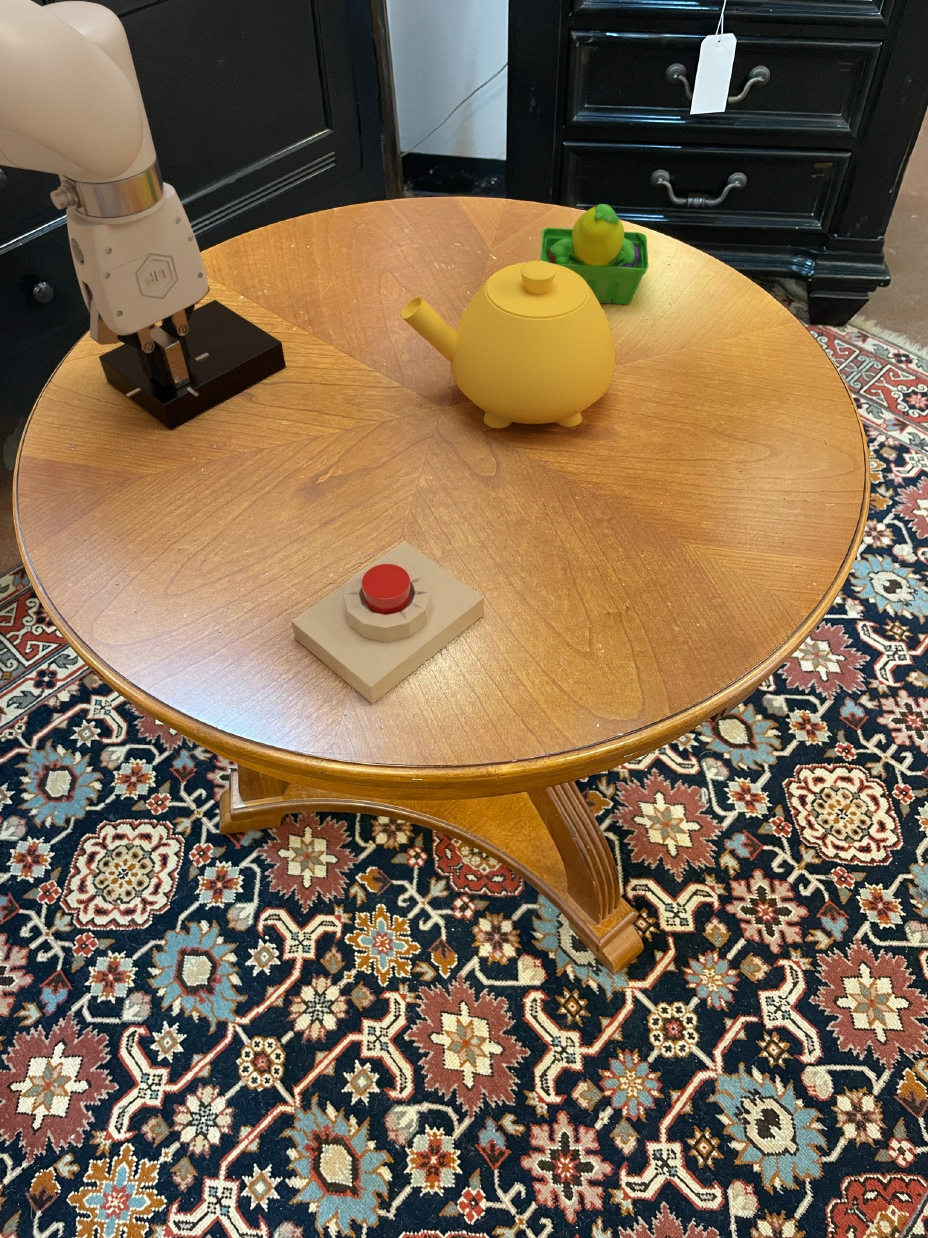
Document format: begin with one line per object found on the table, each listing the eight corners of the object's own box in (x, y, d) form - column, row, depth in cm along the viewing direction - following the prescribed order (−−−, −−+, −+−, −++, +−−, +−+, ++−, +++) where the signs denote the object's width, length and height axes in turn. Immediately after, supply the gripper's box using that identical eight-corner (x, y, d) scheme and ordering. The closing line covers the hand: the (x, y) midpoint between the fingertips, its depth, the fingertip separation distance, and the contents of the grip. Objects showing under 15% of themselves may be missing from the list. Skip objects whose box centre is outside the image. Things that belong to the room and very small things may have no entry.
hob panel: (163, 443, 89) (155, 416, 87) (93, 388, 95) (83, 361, 92) (293, 371, 96) (288, 344, 94) (220, 324, 102) (214, 297, 99)
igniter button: (386, 622, 71) (384, 607, 69) (353, 597, 72) (351, 581, 71) (420, 596, 72) (420, 580, 71) (388, 571, 74) (387, 556, 73)
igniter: (372, 704, 70) (368, 672, 67) (294, 638, 74) (287, 605, 71) (484, 615, 76) (484, 581, 73) (405, 557, 80) (403, 523, 77)
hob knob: (190, 382, 90) (179, 338, 87) (176, 389, 90) (164, 346, 86) (160, 360, 93) (148, 316, 89) (146, 367, 92) (133, 324, 88)
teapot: (405, 450, 89) (396, 320, 78) (406, 352, 99) (399, 224, 88) (619, 446, 89) (640, 316, 78) (599, 348, 99) (615, 221, 88)
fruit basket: (640, 274, 108) (655, 174, 100) (642, 318, 103) (659, 217, 94) (539, 269, 109) (545, 170, 100) (536, 313, 103) (542, 212, 94)
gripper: (51, 237, 72) (120, 429, 86) (221, 166, 79) (259, 355, 93) (2, 202, 75) (76, 393, 89) (169, 137, 82) (213, 324, 97)
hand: (169, 372), depth 91 cm, fingers closed
